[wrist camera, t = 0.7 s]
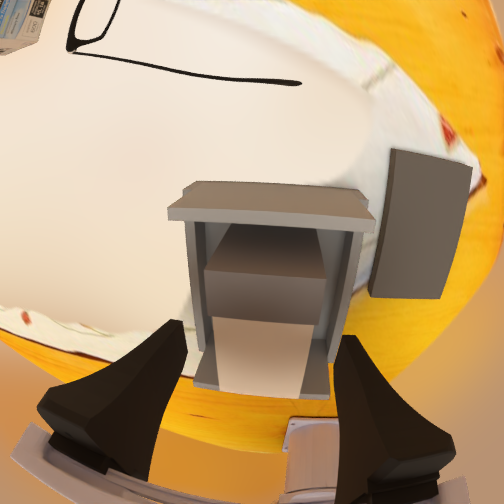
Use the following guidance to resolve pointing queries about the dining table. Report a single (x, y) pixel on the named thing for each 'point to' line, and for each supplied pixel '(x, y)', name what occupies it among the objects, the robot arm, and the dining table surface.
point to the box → (264, 307)
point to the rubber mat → (419, 226)
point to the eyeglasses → (75, 43)
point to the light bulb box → (20, 23)
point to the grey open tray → (277, 214)
